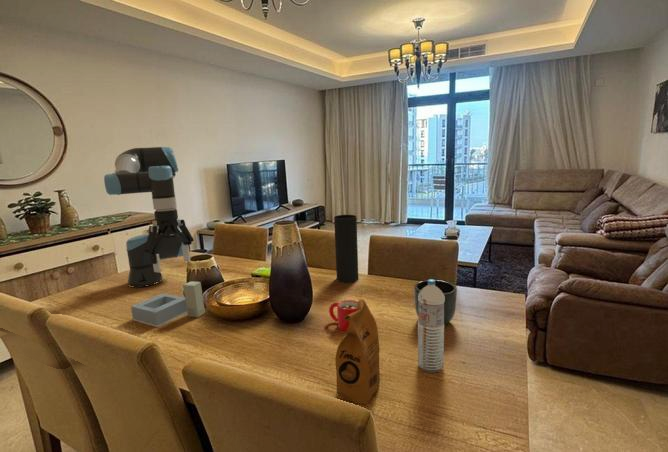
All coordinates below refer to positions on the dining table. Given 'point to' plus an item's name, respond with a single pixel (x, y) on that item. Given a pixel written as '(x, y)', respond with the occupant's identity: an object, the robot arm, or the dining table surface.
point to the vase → (346, 248)
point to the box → (194, 299)
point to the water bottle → (431, 328)
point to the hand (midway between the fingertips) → (173, 266)
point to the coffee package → (358, 357)
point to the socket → (159, 309)
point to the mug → (343, 312)
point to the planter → (449, 293)
